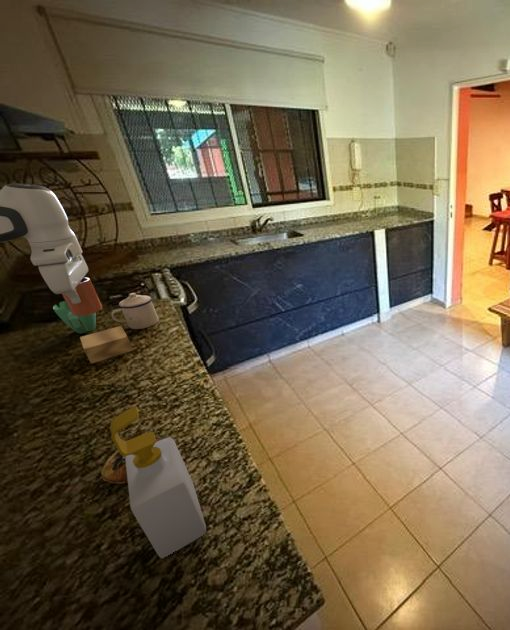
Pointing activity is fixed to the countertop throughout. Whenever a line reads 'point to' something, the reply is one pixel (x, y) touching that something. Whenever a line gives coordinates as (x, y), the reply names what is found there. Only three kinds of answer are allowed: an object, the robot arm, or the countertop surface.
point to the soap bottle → (159, 488)
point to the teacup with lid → (137, 311)
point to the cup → (84, 299)
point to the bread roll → (117, 468)
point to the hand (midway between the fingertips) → (81, 297)
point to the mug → (75, 319)
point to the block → (106, 344)
